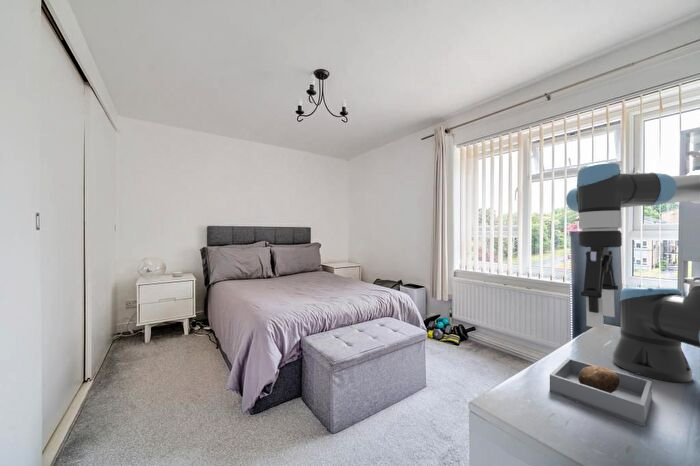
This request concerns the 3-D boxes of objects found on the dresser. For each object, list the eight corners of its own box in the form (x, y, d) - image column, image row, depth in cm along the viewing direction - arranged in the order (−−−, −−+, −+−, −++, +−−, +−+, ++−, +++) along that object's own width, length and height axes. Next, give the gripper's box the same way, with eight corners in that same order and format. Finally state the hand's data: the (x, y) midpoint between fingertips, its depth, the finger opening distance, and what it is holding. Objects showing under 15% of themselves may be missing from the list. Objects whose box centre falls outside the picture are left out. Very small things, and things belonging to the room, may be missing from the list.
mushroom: (629, 379, 64) (610, 356, 65) (632, 407, 58) (612, 381, 59) (589, 382, 69) (573, 361, 70) (589, 408, 64) (571, 385, 65)
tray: (568, 372, 75) (568, 357, 75) (651, 398, 63) (651, 381, 63) (549, 391, 65) (549, 374, 65) (644, 426, 53) (644, 405, 53)
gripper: (590, 231, 76) (592, 309, 75) (564, 229, 60) (566, 328, 60) (629, 230, 70) (631, 314, 69) (611, 228, 54) (614, 337, 54)
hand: (601, 321), depth 65 cm, fingers open, 13 cm apart
